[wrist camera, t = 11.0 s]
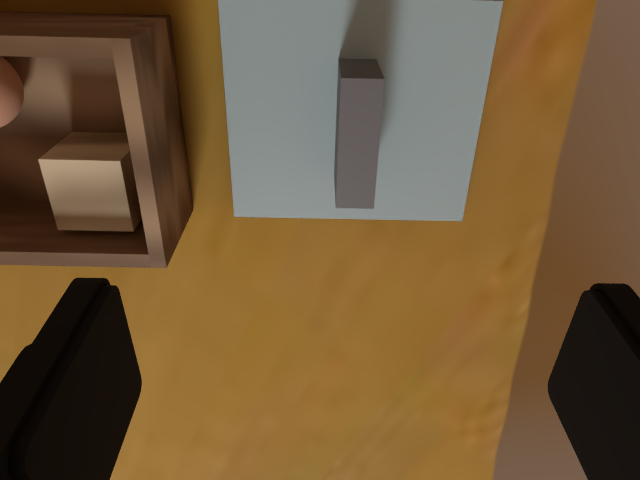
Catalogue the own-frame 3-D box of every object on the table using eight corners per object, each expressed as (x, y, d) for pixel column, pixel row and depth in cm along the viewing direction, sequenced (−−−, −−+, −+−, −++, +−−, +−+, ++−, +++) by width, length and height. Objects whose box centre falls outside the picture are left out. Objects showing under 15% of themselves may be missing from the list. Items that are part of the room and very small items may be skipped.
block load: (72, 131, 36) (38, 159, 31) (144, 133, 36) (120, 161, 31) (87, 196, 38) (57, 229, 34) (154, 197, 38) (133, 231, 34)
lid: (223, -10, 32) (200, 5, 26) (492, -4, 32) (532, 12, 26) (238, 203, 40) (223, 253, 34) (455, 207, 40) (479, 257, 34)
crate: (-83, 9, 33) (-191, 30, 26) (169, 15, 33) (129, 38, 26) (-14, 205, 40) (-83, 262, 33) (193, 209, 40) (166, 268, 33)
